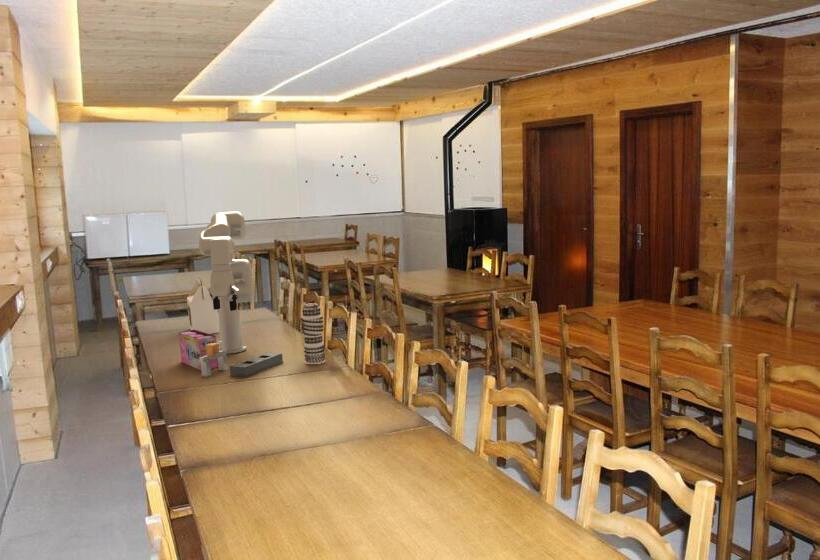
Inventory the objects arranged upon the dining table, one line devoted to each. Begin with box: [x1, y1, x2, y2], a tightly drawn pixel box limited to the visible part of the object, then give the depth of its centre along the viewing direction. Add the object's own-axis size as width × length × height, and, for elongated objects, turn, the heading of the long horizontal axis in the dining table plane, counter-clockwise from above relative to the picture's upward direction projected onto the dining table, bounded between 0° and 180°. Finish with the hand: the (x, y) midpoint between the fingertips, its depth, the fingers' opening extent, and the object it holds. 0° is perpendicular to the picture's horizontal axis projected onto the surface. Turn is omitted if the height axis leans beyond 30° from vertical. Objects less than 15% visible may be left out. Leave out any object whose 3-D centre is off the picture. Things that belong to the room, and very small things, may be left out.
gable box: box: [186, 277, 220, 335], centre depth 399 cm, size 22×13×28 cm, turn 21°
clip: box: [199, 343, 228, 377], centre depth 308 cm, size 3×14×12 cm, turn 152°
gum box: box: [178, 330, 219, 371], centre depth 324 cm, size 24×8×14 cm, turn 39°
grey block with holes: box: [229, 351, 284, 378], centre depth 311 cm, size 8×24×4 cm, turn 152°
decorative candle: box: [300, 302, 326, 365], centre depth 315 cm, size 9×9×25 cm
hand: (225, 309), depth 308 cm, fingers open, 9 cm apart
